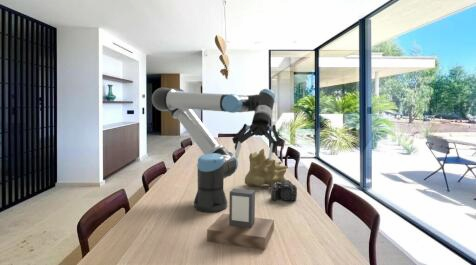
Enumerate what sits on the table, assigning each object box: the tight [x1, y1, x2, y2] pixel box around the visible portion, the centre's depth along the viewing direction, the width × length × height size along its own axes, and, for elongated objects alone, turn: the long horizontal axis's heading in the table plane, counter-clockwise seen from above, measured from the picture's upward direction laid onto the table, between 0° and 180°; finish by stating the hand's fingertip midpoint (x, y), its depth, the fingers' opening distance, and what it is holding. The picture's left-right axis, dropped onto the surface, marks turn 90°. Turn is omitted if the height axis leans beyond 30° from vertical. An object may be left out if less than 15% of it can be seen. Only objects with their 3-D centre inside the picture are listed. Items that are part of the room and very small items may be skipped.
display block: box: [206, 213, 275, 250], centre depth 108 cm, size 20×16×4 cm
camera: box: [270, 178, 298, 202], centre depth 150 cm, size 13×10×10 cm
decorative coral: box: [244, 148, 288, 187], centre depth 175 cm, size 26×22×25 cm
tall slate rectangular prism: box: [228, 188, 256, 228], centre depth 107 cm, size 8×5×12 cm, turn 74°
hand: (252, 157), depth 120 cm, fingers open, 13 cm apart
